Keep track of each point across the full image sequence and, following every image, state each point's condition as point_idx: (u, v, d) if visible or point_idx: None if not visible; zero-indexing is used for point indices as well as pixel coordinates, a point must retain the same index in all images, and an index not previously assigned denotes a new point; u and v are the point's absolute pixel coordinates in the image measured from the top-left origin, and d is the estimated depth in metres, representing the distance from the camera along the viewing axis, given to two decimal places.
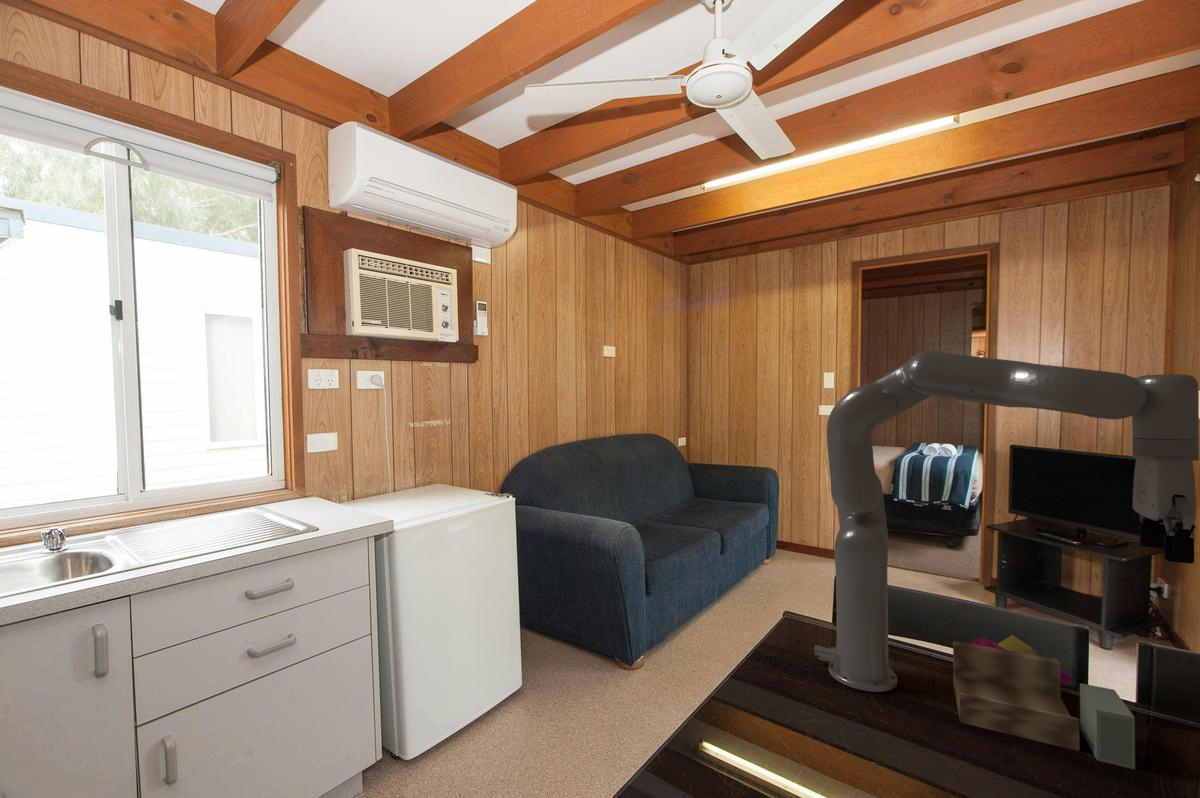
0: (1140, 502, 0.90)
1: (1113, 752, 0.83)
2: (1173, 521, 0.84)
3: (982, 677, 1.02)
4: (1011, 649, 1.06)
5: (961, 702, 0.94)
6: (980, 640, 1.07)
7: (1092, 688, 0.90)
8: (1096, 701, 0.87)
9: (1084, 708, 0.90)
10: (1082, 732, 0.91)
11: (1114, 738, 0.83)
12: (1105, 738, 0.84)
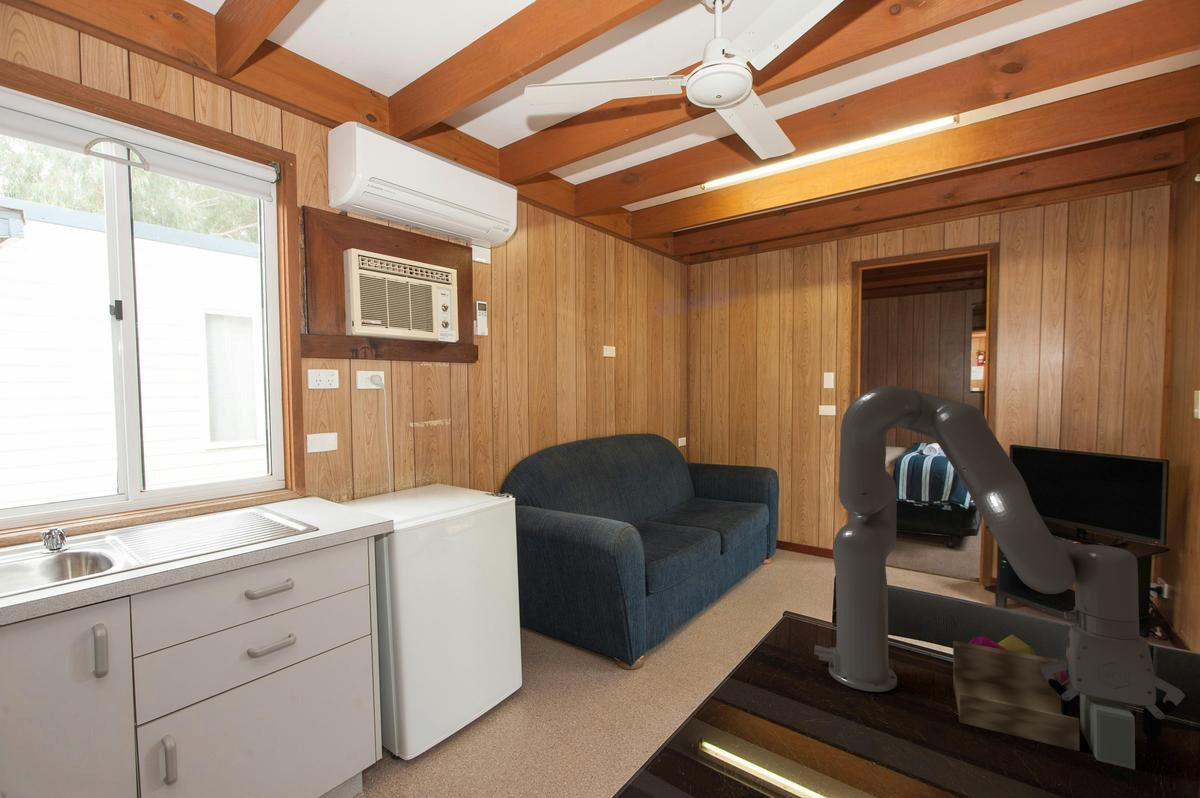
0: (1109, 687, 0.85)
1: (1113, 752, 0.83)
2: None
3: (982, 677, 1.02)
4: (1010, 648, 1.07)
5: (961, 702, 0.94)
6: (978, 638, 1.08)
7: None
8: (1096, 701, 0.87)
9: (1084, 708, 0.90)
10: (1082, 732, 0.91)
11: (1114, 738, 0.83)
12: (1105, 738, 0.84)
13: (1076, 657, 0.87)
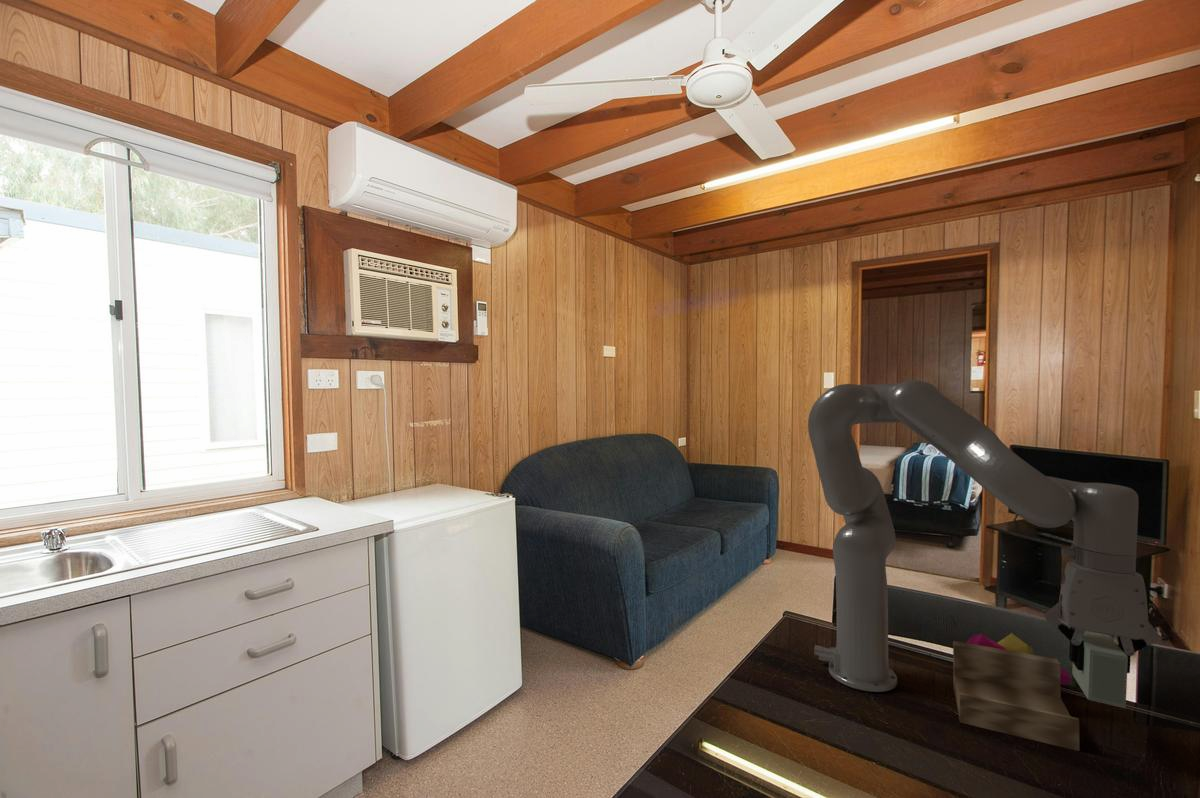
0: (1102, 620, 0.85)
1: (1105, 691, 0.84)
2: None
3: (982, 677, 1.02)
4: (1008, 646, 1.07)
5: (961, 702, 0.94)
6: (976, 636, 1.09)
7: (1086, 633, 0.91)
8: (1090, 643, 0.87)
9: None
10: (1074, 676, 0.92)
11: (1106, 677, 0.84)
12: (1097, 678, 0.84)
13: (1071, 591, 0.87)
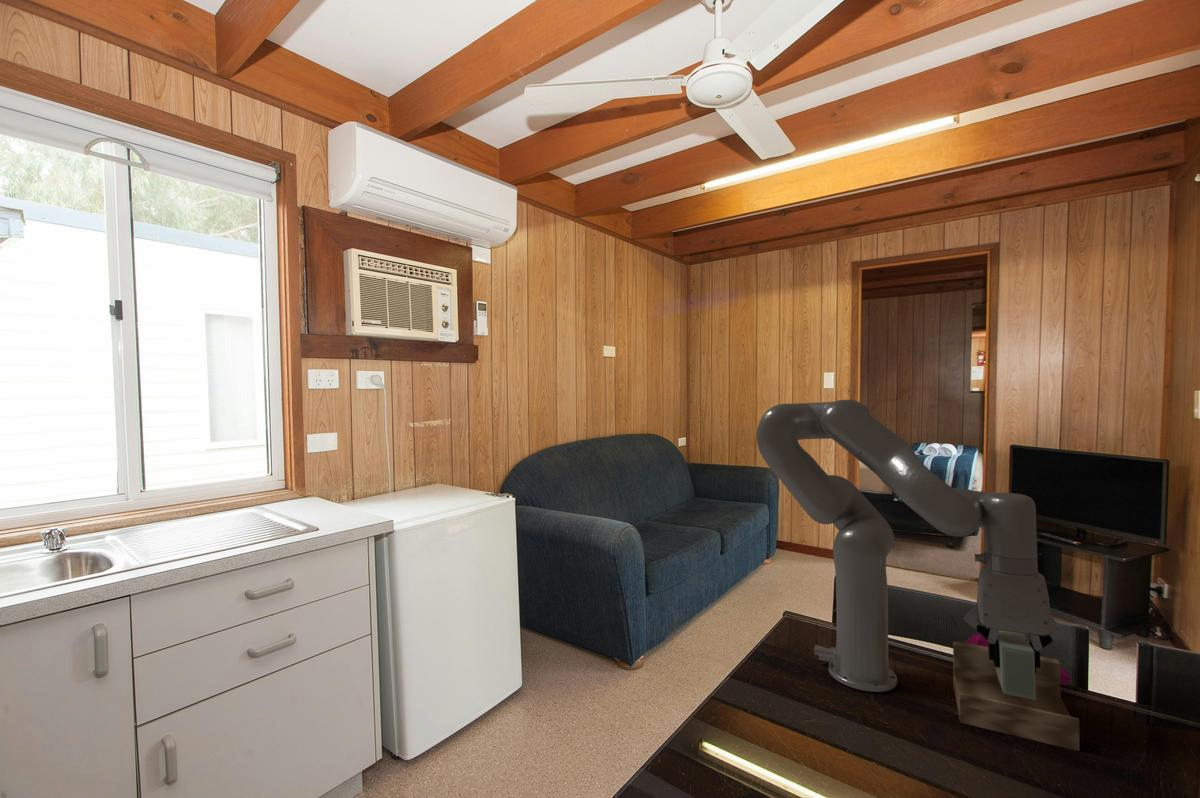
0: (1011, 619, 0.93)
1: (1017, 685, 0.91)
2: None
3: (982, 677, 1.02)
4: None
5: (961, 702, 0.94)
6: (976, 635, 1.09)
7: (1004, 631, 0.98)
8: (1004, 640, 0.95)
9: None
10: (996, 672, 0.99)
11: (1017, 672, 0.91)
12: (1010, 673, 0.92)
13: (983, 594, 0.95)
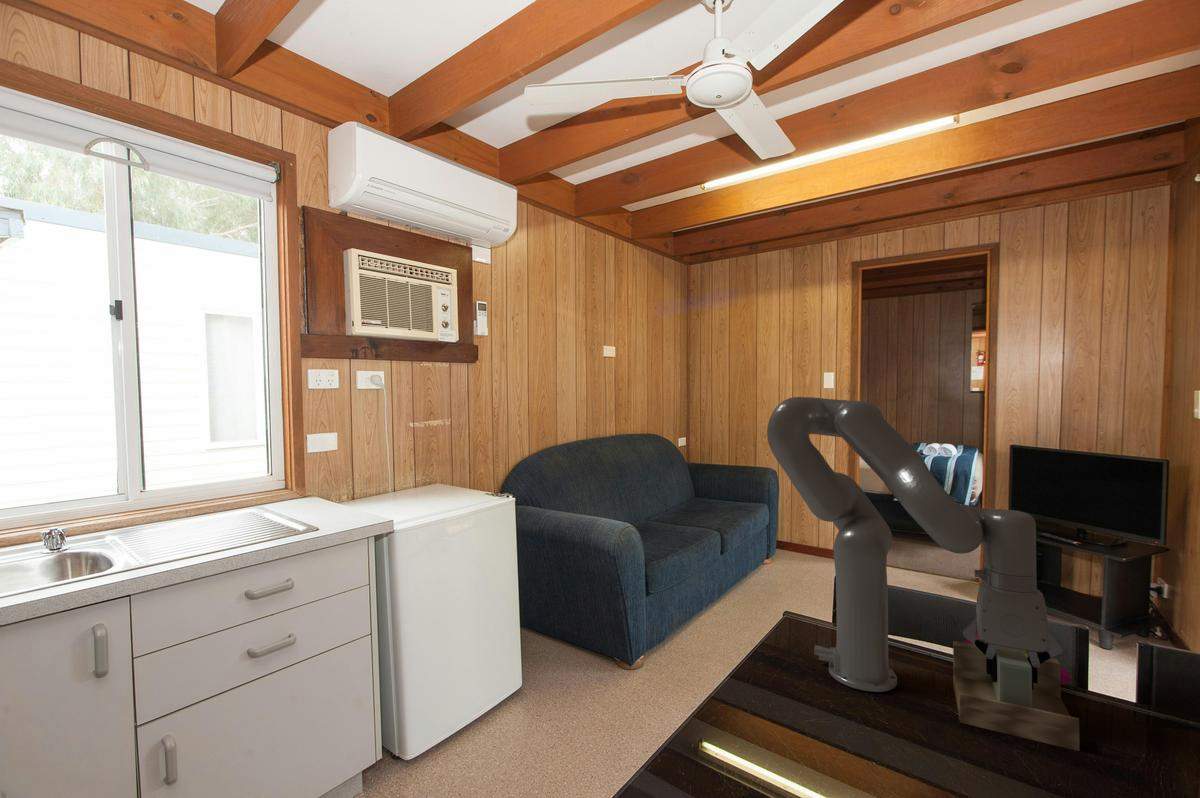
0: (1010, 635, 0.94)
1: (1014, 700, 0.93)
2: None
3: (982, 677, 1.02)
4: None
5: (961, 702, 0.94)
6: (975, 634, 1.10)
7: None
8: (1002, 655, 0.96)
9: None
10: (993, 685, 1.00)
11: (1014, 687, 0.92)
12: (1007, 687, 0.93)
13: (982, 610, 0.96)
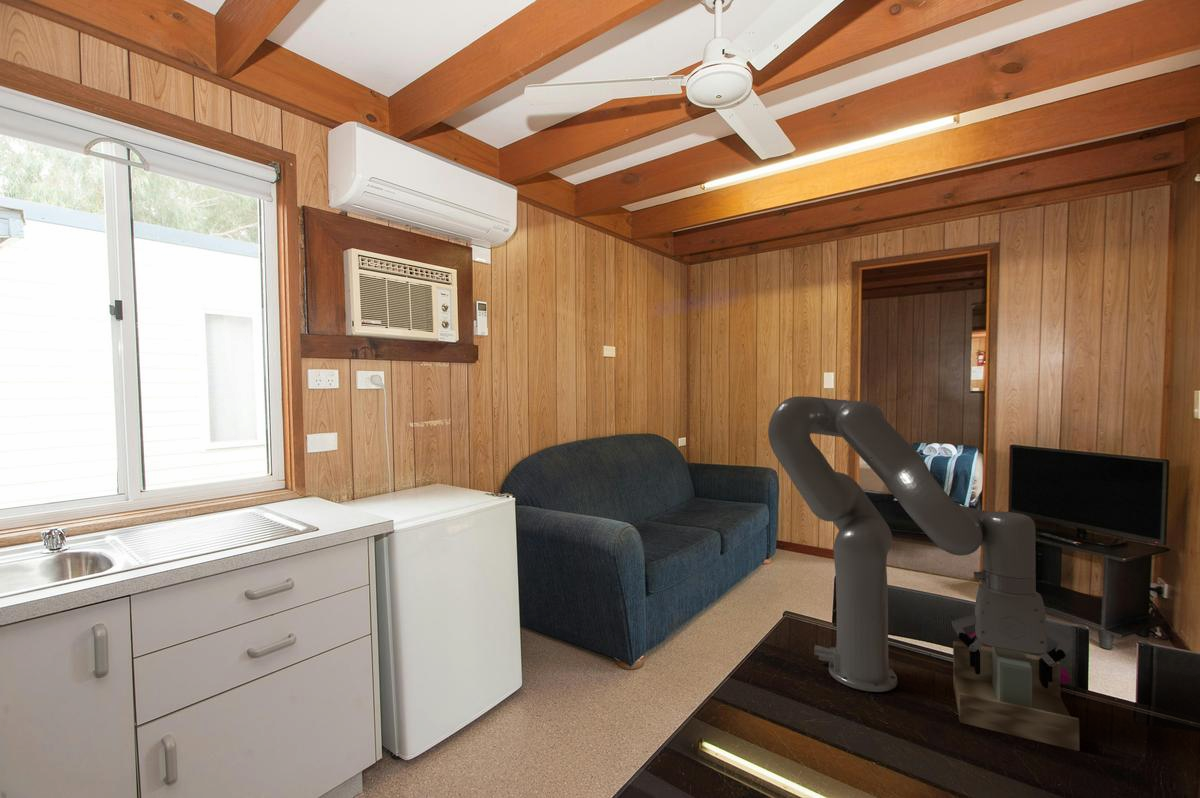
0: (1008, 638, 0.94)
1: (1014, 700, 0.93)
2: None
3: (982, 677, 1.02)
4: None
5: (961, 702, 0.94)
6: (974, 633, 1.10)
7: None
8: (1002, 655, 0.96)
9: (994, 663, 0.99)
10: (993, 685, 1.00)
11: (1014, 687, 0.92)
12: (1007, 687, 0.93)
13: (981, 612, 0.96)
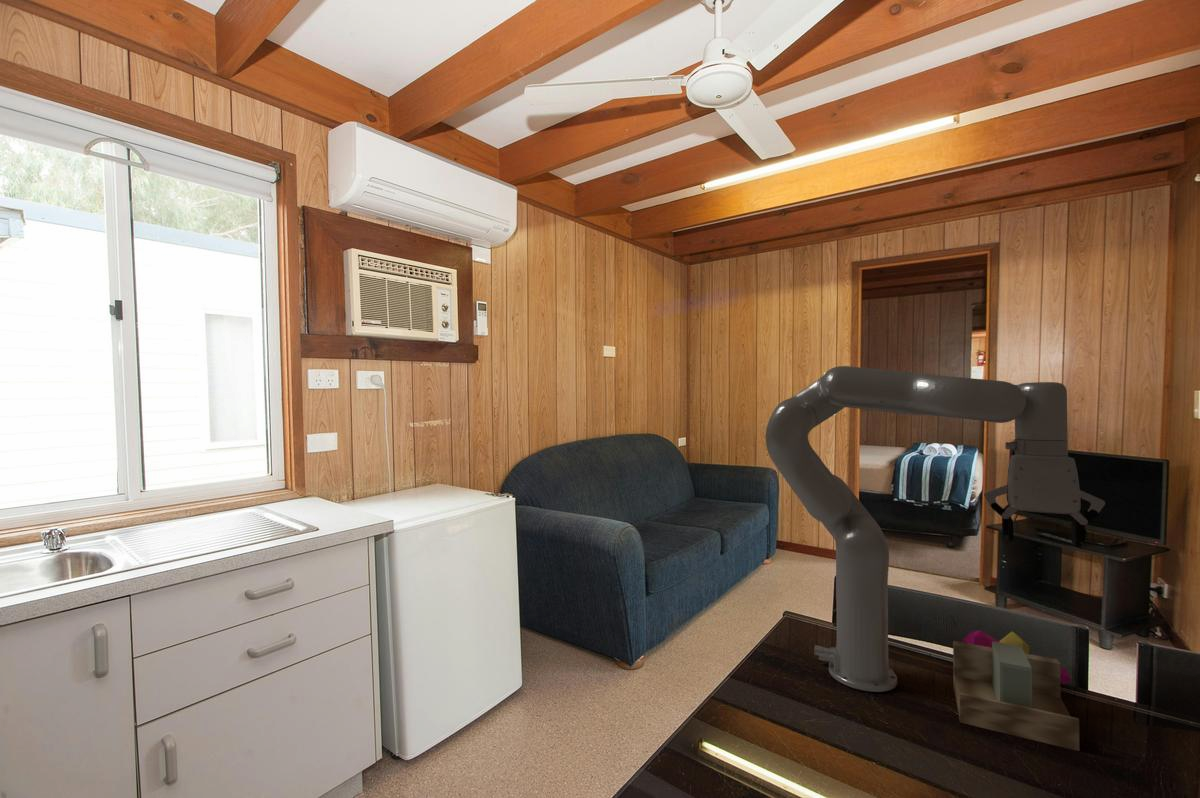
0: (1041, 500, 0.97)
1: (1014, 700, 0.93)
2: None
3: (982, 677, 1.02)
4: None
5: (961, 702, 0.94)
6: (974, 632, 1.11)
7: (1001, 645, 0.99)
8: (1002, 655, 0.96)
9: (994, 663, 0.99)
10: (993, 685, 1.00)
11: (1014, 687, 0.92)
12: (1007, 687, 0.93)
13: (1013, 478, 0.99)
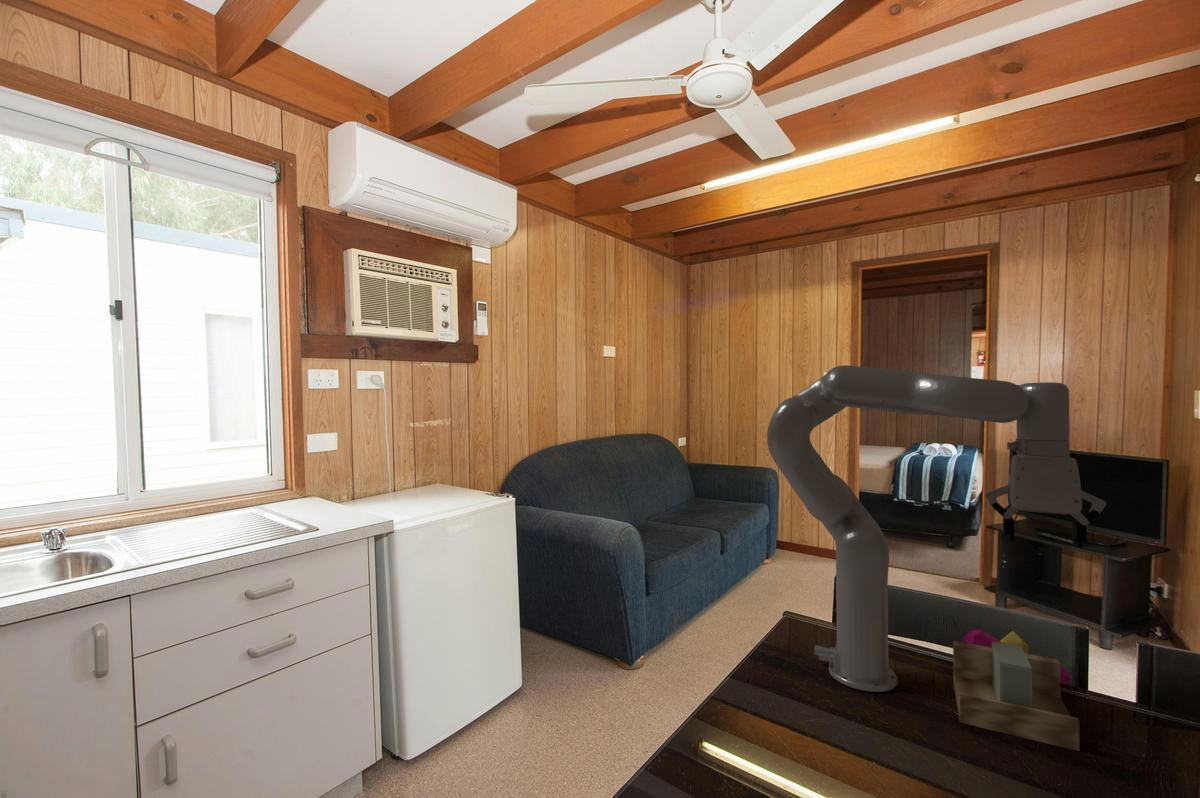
0: (1043, 500, 0.97)
1: (1014, 700, 0.93)
2: None
3: (982, 677, 1.02)
4: (1007, 643, 1.09)
5: (961, 702, 0.94)
6: (974, 631, 1.11)
7: (1001, 645, 0.99)
8: (1002, 655, 0.96)
9: (994, 663, 0.99)
10: (993, 685, 1.00)
11: (1014, 687, 0.92)
12: (1007, 687, 0.93)
13: (1015, 478, 0.99)
